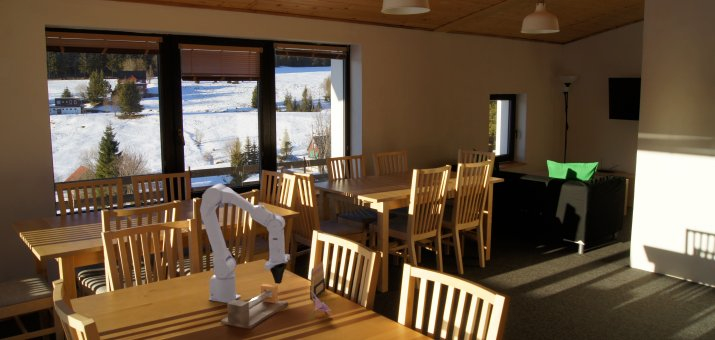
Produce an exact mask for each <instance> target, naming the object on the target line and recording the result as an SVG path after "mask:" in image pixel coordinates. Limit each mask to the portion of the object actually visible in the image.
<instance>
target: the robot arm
mask: <svg viewBox="0 0 715 340" xmlns="http://www.w3.org/2000/svg"><path fill="white" fill-rule="evenodd" d="M201 198H202V200H201V204H200V208H199V212H200V215H201V218H202V223H203V225H204V228H205V231H206V234H207V236H208V238H207V239H208V240H209V244H210V247H211V249H212V253H213V258H212V263H213V274H214V275H212V276H211V277H210V280H209V284H208V285H209V298H208V300H209V301H214V302H219V303H226V304H228V303H229V302H231V301H233V300H238V299H239V298H241V295H240V294H237V292H236V291H237V289H236V288H237V287H236V274H235V271H234V270H235V269H236V267H237V262H236V259H235V258H234V257H233V256H232V253H231V251H229V250H228V248H227V245H226V241H225V238H224V235H223V232H222V229H221V225H220V223H219V219H218V217H217V216H218V215H217V212H216V210H217V208H218V207H219V206H220V203H221V204H229V203H230V204H232V205H235V206H236V207H238V208H239V209H242V210H244V211H245V212H247V213H249V216H250V218H251V219H252V220H254V221H255V222H257V223H258V224H260V225H262V226H263V227H266V229H267V231H268V246H269V247H268V248H269V249H268V250H269V260H268V261H267V262H266V263H265V264H264V270H266V271H270V273H271V275H272V278H273V280H274V281H273V282H274V284H278V285H280V284H282V281H283V277H284V273H285V271H286V268H287V266H288V265H287V263H288V261H289V260H291V257H290V256H291V254H288V253H286V252H285V251H286V248H285V246H286V245H285V230H284V228H285V226H286V220H285V218H284V217H283V216H282V215H280V214H276V213H275V212H271V211H270V210H268V209H267V208H266V206H265V205H263V204H262V205H260V204H256V205H255V204H253V203H251V202H250V201H248V200H247V199H245V198H244V197H243V196H241V194H239V193H238V192H236V191H234V190H233V189H232V188H231V187H228V186H226V185H225V184H224V183H216V184H214V185H213V186H210V187H208V188H207V189H206V190H205V191H204V192H203V193H202V195H201Z"/></svg>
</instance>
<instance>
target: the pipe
mask: <svg viewBox="0 0 715 340" xmlns="http://www.w3.org/2000/svg"><path fill="white" fill-rule="evenodd" d="M269 297H272V291H271V290H267V291H266V292H264V293H262V294H261V293H260V294H259V295H257V296H255V297H254V298H251V299H250V300H248V301H247V302H249V309H251V308H253V307H254V306H256V305H258V304H259V303H261V302H263V301H264V300H266V299H268V298H269Z"/></svg>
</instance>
